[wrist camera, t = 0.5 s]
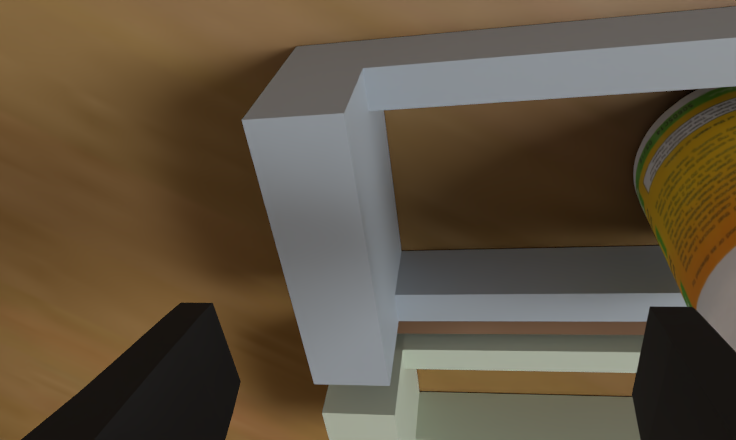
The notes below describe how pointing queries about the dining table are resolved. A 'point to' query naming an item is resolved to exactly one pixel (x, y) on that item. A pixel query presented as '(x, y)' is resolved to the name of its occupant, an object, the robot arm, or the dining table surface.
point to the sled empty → (486, 410)
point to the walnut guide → (521, 327)
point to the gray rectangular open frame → (376, 192)
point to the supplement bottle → (695, 200)
